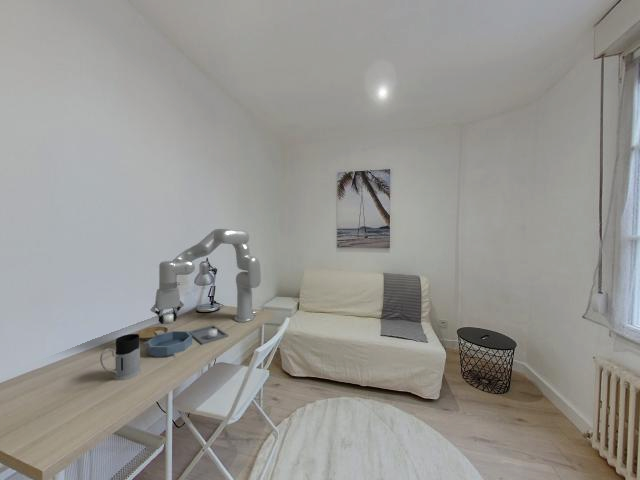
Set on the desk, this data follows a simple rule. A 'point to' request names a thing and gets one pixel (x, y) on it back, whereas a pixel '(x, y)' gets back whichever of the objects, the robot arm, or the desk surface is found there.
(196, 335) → the tray
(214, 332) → the pebble
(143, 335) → the plant saucer
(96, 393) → the desk surface
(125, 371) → the glass holder
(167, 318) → the pebble
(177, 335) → the bowl
